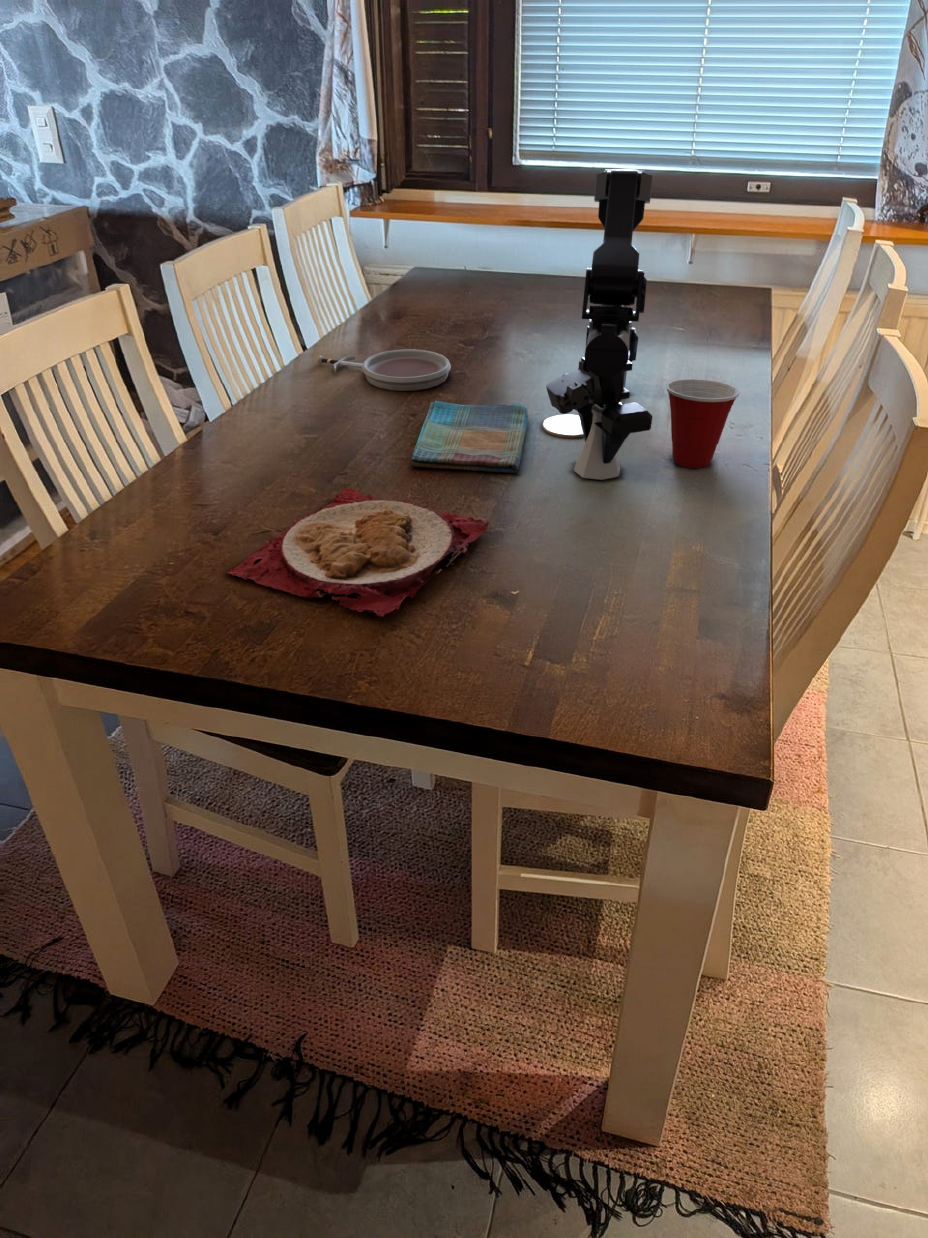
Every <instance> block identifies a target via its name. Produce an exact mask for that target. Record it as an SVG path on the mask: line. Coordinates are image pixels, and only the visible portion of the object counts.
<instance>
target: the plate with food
mask: <svg viewBox="0 0 928 1238" xmlns="http://www.w3.org/2000/svg"><path fill="white" fill-rule="evenodd" d="M332 501H333V502H331V503H329V504H327V505H326V506H325V507H322V508H321V509H320V510H317V511H316V512H315V511H314V512H310V513H308V514H307V515H305V516H303V517H301V518H298V520H296V519H295V520H293V524H292V525H291V526H290V527H288V528H287V529H285V531H284V532H282V533H281V534H280V535H278V536H276V537H275V539H273V540H270V541H269V542H268V543H265V544H264V545H262V546H261V547H260V549H259V550H258V551H256V552H254V553H253V554H250V555H247V556H246V558H245V559H244V560H243V561H242V562H241V563H240V564H239V565H238V566H235V567H234V568H232V569H229V570H228V571H226V572H227V573H228V574H231V576H232V577H235V576H237V577H238V578H242V579H243V580H245V581H247V580H249V579H250V580H253V581H254V583H255V584H257V585H262V586H263V587H265V588H267V587H269V588H271V589H274V590H279V591H283V592H285V593H289V594H291V595H293V596H294V595H296V596H297V597H303V598H309V599H311V598H323V597H324V596H326V595H327V594H328V595H331V594H333V595H332V596H331V600H333V601H337V602H338V601H339V607H340V608H343V607H344V608H345V609H349V610H350V611H357V612H358V613H361V612H365V611H366V612H367V613H375V614H376V616H377V617H378V618H380V617H385V616H386V615H387V614H391V613H392V612H393V611H394V610H399V609H400V607H401V604H402V602H403V601H404V599H406V597H407V598H411V599H414V597H415V596H417V593H418V591H419V590H420V589H421V588H422V587H423V586H425V585H426V584H427V583H429V581H430V580H431V579H432V578H433V577H434V576H435V575H437V574H438V575H439V574H440V572H442V571H443V569H442V568H439V569H436V570H434V568H436V566H437V565H438V564H439V563H440V561H442V560H443V559H445V557H447V560H448V563H447V564H445V567H448V566H449V565H451V564H452V565H454V564H455V563H454V560H455V559H456V558H458V556H461V555H462V554H466V552H468V548H469V547H470V546H469V545H471V543H473V542H475V541H476V540H477V539H478V538H479V537H480V536H481V535H483V533H484V532H485V531H486V529H487V528H488V527H489V524H490V522H489V520H488V519H487V520H486V521H483V519H482V518H479V519H475V518H474V517H472V516H469V517H463V516H461V515H460V516H458V515H457V514H455V513H453V514H450V512H449V511H446V512H445V513H443V512H441V511H440V510H436V509H434V508H429V507H428V506H425V505H424V506H419V505H417V504H416V503H415V504H414V503H413V501H411V500H410V499H408V500H401V501H400V500H398V499H396V500H393V499H383V498H380V499H379V498H374V497H373V496H371V495H370V494H368V495H366V496H363V495H362V494H361V492H360V491H358V490H354V489H352V488H343V489H342V490H341V492H340V494H335V497H334V498H333V499H332ZM257 560H260V561H258V562H257V563H255V562H256V561H257ZM433 570H434V571H433ZM432 571H433V572H432ZM351 594H357V595H355V597H353V598H351V597H349V596H348V595H351Z"/></svg>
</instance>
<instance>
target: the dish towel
mask: <svg viewBox="0 0 928 1238" xmlns="http://www.w3.org/2000/svg"><path fill="white" fill-rule="evenodd" d="M528 414H529V412H528V408H527V407H526V406H525V405H524V404H521V403H505V404H456V403H449V402H444V401H439V400H435V401H434V402H433V401H432V402H430V404H429V409H428V412H427V414H426V416H425V419H424V421H423V423H422V424H423V425H422V427H421V430H420V432H419V435H418V438H417V441H416V444H415V446H414V449H413V452H412V455H411V457H410V459H411V461H410V462H411V467H414V468H432V469H446V470H460V471H461V470H462V471H475V472H477V471H478V472H486V473H489V472H490V473H505V474H516V473H518V472H519V469H520V465H521V460H522V453H523V448H524V443H525V436H526V432H527V429H528V421H529V415H528Z"/></svg>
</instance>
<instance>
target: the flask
mask: <svg viewBox="0 0 928 1238" xmlns="http://www.w3.org/2000/svg"><path fill="white" fill-rule="evenodd" d="M603 411H604V410H600V409H599V408H598V407H597V406H593V407H592V413H593V422H592V426H591V430H590V433H589V435H588V438H587V440H586V442H585V441H584V445H583V447H582V449H581V451H580V453H579V455H578V457H577V460H576V462H575V466H574V468H573V471H574V473H576V474H577V475H579V476H580V477H581V478H583V479H591V480H602V481H603V480H608V479H613V478H617V477H619V476H620V472H621V465H620V460H619V458H618V454H617V453H616V455H615V456H614V458H613V459H612V461H611V462H610V463H606V464H605V463H603V456H602V432H601V430H600V429H599V428H598V427H597V426H596V425H595V424H594V423H596V422H601V416H602V412H603Z"/></svg>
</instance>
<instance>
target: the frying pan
mask: <svg viewBox="0 0 928 1238" xmlns="http://www.w3.org/2000/svg"><path fill="white" fill-rule="evenodd" d="M354 360H357V359H356V355H355V354H353V355H348V356H344V357H342V358H341V359H332V358H324V357H323V356H322V355H319V356H317V357H316V359H315V361H316V363H317V364H318V365H319V366H320V365H323V364H329V365H333V370H334V373H337V368H338V367H340V366H344V367H352V368H359V369H361V372H362V373H363V374H364V376H365V378H366V381H367V382H368V383H369V384H370V385H372V386H374V387H376V388H378V389H379V388H380V389H383V390H384V389H385V390H389V391H401V392H406V391H407V392H408V391H409V392H410V391H420V390H427V389H430V388H434V387H436V386H437V387H438V386H439V385H441V384H443V383H445V381H446V380H447V378H448V376H449V372H450V371H451V369H452V365H451V363H450V360H449V359H448V358H447V357H445V355H443V354H441V353H437V352H435V351H429V350H425V349H412V348H411V349H410V348H409V349H395V350H394V349H393V350H386V351H383V352H379V353H375V354H373V355H370V356H369V357H367V358H366V359H365V360H364V362H363V363H362V362H353V361H354Z"/></svg>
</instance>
